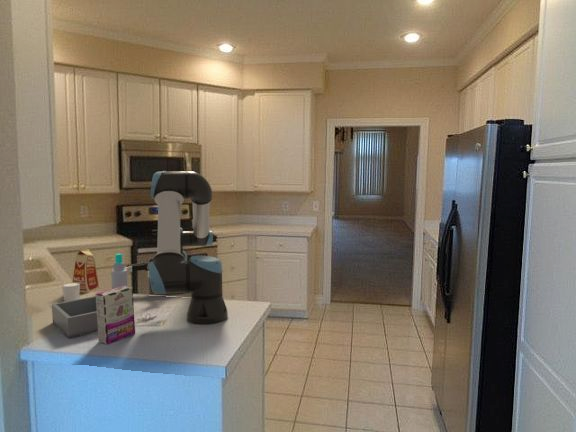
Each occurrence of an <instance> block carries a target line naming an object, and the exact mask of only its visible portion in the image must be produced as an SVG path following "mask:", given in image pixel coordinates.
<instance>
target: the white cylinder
mask: <svg viewBox="0 0 576 432" xmlns="http://www.w3.org/2000/svg"><path fill="white" fill-rule="evenodd" d="M61 289H62V295H63V300H64V301H63V302H66V301H71V300H77V299H80V292H79V290H80V284H79V283H72V282H70V283H64V284H63V285H61Z"/></svg>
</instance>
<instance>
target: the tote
mask: <svg viewBox="0 0 576 432" xmlns="http://www.w3.org/2000/svg"><path fill="white" fill-rule="evenodd" d="M51 313H52V314H51V315H52V323H53V324H54V325H55V327H57V328H58V330H59V331H60V332H61V333H62V334H63V335H64V336H65V337H67V339H69V340H70V339H74V338H78V337H81V336H83V337H84V336H86V335H90V334H91V335H92V334H94V333H98V324H97V310H96V295H95V296H93V295H92V296H89V297H83V298H79V299H77V300H71V301H66V302H65V301H62V302H57V303H51Z"/></svg>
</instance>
